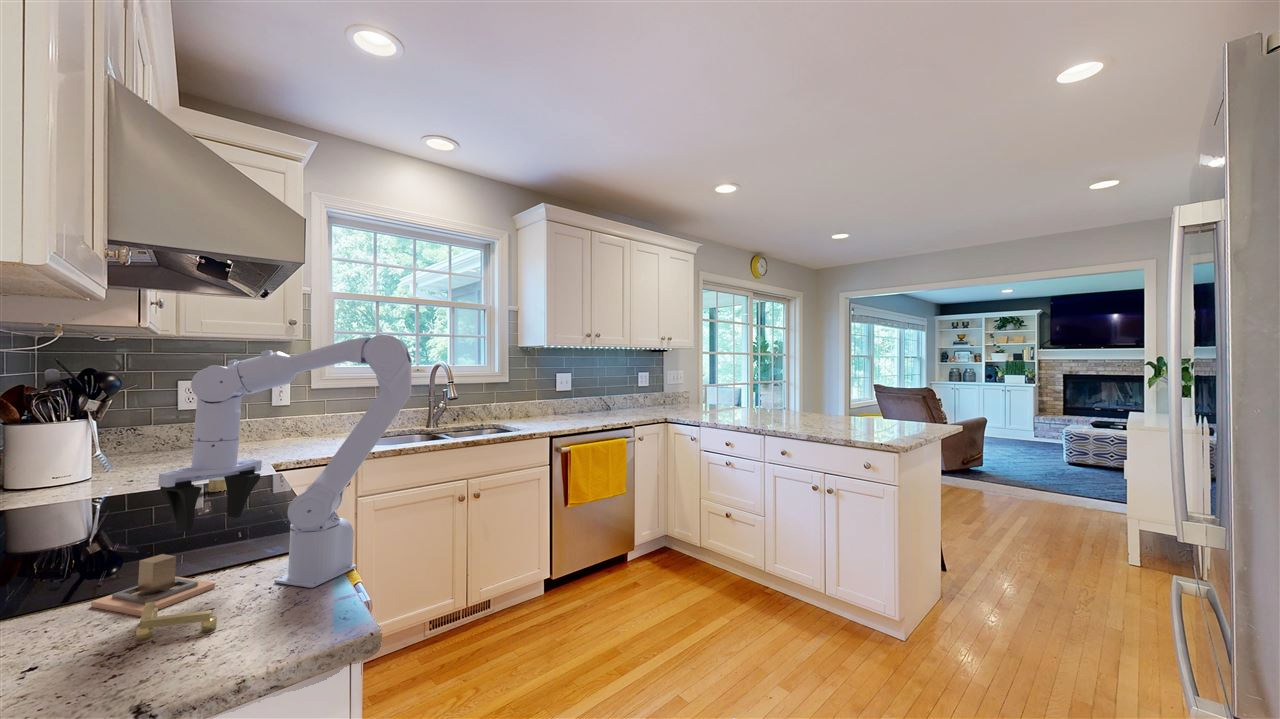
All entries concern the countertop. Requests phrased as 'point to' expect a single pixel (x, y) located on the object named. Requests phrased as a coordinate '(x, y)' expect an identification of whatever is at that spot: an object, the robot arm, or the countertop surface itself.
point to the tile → (137, 609)
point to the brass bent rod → (171, 621)
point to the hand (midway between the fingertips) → (210, 522)
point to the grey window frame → (155, 581)
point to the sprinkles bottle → (217, 484)
